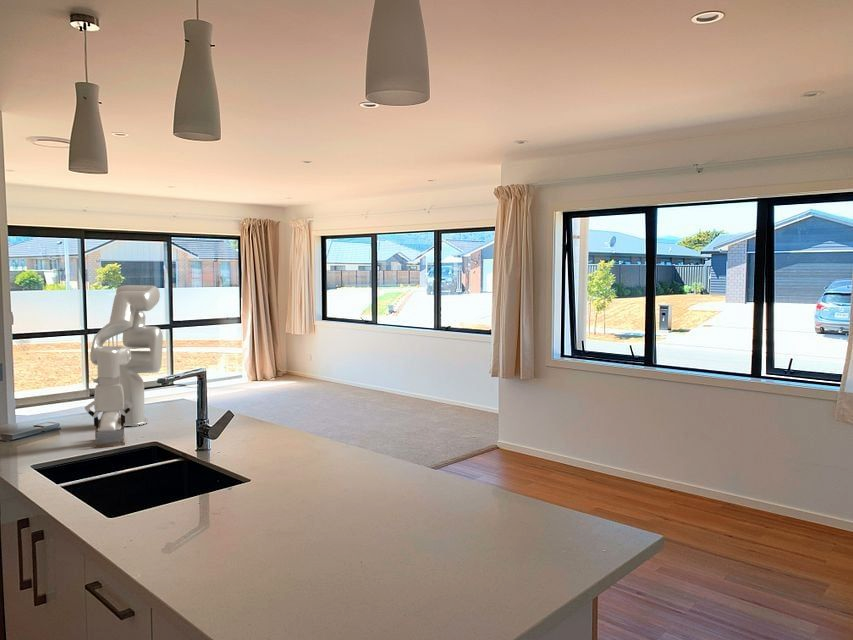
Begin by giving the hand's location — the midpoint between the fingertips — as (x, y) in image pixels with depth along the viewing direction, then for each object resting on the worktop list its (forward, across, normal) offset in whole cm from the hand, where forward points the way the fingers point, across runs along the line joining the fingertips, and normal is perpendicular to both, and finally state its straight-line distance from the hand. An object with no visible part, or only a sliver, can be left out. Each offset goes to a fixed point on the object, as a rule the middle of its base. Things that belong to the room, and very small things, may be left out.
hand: (109, 426), depth 238 cm
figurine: (+5, 0, 0) cm, 5 cm away
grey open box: (+6, 0, 0) cm, 6 cm away
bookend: (+5, 0, -4) cm, 7 cm away
